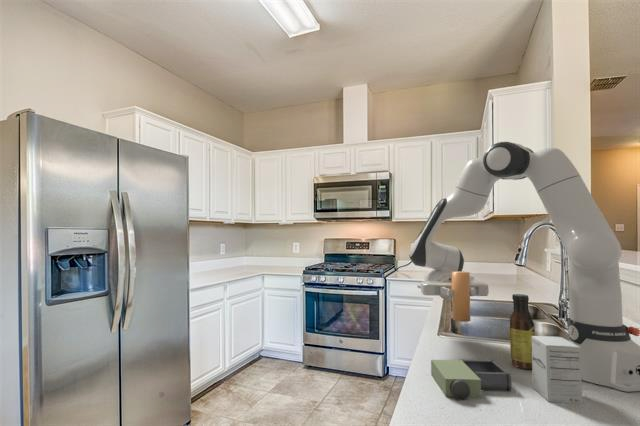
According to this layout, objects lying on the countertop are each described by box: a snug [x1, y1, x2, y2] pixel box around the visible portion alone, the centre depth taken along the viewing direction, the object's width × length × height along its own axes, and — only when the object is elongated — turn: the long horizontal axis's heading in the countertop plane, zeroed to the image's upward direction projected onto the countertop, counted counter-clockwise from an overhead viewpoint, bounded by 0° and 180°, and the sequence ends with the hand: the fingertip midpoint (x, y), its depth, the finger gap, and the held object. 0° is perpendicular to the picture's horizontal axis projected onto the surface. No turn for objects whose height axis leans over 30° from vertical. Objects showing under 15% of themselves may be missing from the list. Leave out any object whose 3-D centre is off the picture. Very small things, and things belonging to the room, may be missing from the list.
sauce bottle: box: [509, 293, 536, 370], centre depth 98 cm, size 6×6×20 cm
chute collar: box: [461, 359, 512, 392], centre depth 87 cm, size 8×9×4 cm
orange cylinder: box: [451, 270, 472, 323], centre depth 103 cm, size 5×5×14 cm
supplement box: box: [531, 335, 583, 405], centre depth 80 cm, size 7×7×13 cm
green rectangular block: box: [430, 359, 482, 401], centre depth 84 cm, size 8×14×4 cm, turn 177°
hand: (462, 292), depth 102 cm, fingers closed on orange cylinder, 5 cm apart
